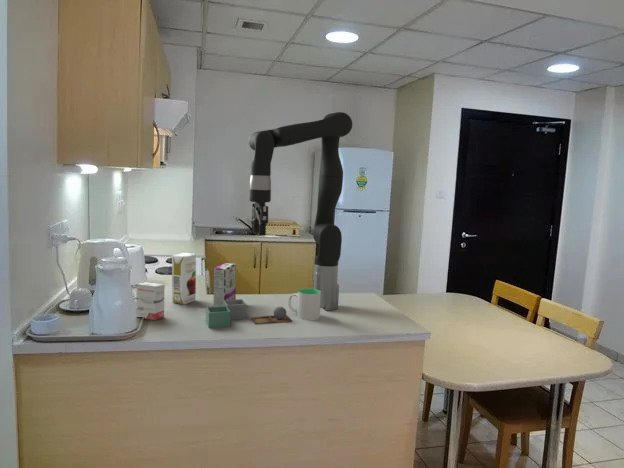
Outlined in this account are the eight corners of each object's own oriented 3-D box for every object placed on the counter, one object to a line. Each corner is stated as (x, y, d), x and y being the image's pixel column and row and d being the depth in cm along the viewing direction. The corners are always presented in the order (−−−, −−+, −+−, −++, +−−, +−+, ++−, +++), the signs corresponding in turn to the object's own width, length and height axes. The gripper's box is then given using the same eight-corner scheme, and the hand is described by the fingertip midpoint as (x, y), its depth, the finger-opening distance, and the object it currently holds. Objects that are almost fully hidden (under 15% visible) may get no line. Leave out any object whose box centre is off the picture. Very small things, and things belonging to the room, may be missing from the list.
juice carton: (169, 302, 186) (169, 254, 184) (182, 297, 194) (183, 251, 192) (185, 305, 183) (185, 256, 181) (198, 300, 191) (198, 253, 189)
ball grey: (284, 317, 170) (284, 304, 169) (287, 320, 166) (288, 308, 165) (271, 317, 168) (272, 305, 168) (275, 321, 164) (275, 309, 164)
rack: (286, 318, 172) (286, 314, 171) (292, 324, 165) (292, 320, 165) (250, 321, 167) (250, 316, 167) (255, 327, 161) (255, 322, 160)
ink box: (165, 316, 168) (165, 283, 167) (156, 320, 164) (156, 286, 162) (144, 313, 171) (144, 281, 170) (135, 317, 166) (135, 284, 165)
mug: (283, 319, 170) (284, 291, 169) (291, 313, 178) (292, 286, 177) (315, 324, 167) (316, 295, 165) (322, 317, 174) (323, 290, 173)
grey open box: (242, 315, 174) (242, 299, 173) (246, 320, 167) (246, 304, 166) (222, 316, 171) (223, 300, 170) (226, 322, 165) (226, 305, 164)
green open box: (226, 322, 164) (226, 305, 163) (230, 329, 158) (230, 311, 157) (205, 324, 162) (205, 307, 161) (208, 330, 155) (208, 312, 155)
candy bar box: (223, 303, 188) (224, 262, 186) (235, 304, 187) (236, 263, 185) (212, 311, 177) (213, 267, 175) (225, 312, 176) (225, 268, 174)
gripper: (276, 189, 163) (274, 236, 166) (265, 187, 177) (264, 231, 179) (254, 189, 161) (253, 236, 163) (245, 187, 174) (244, 231, 176)
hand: (259, 233), depth 171 cm, fingers open, 8 cm apart
